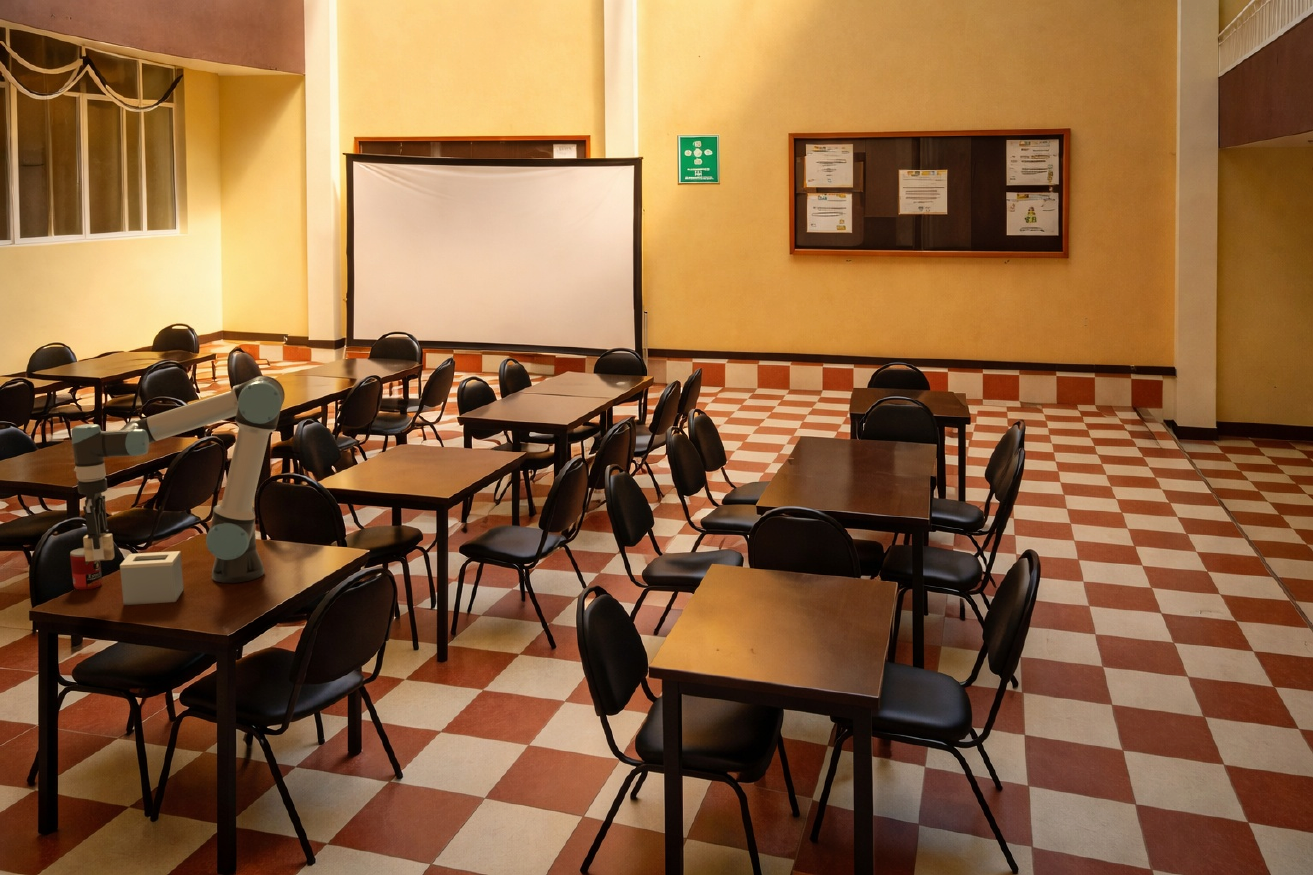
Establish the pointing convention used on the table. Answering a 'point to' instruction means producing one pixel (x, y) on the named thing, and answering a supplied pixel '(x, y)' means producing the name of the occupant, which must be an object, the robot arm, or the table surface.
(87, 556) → the block
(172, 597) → the box
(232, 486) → the robot arm
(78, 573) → the canned food
